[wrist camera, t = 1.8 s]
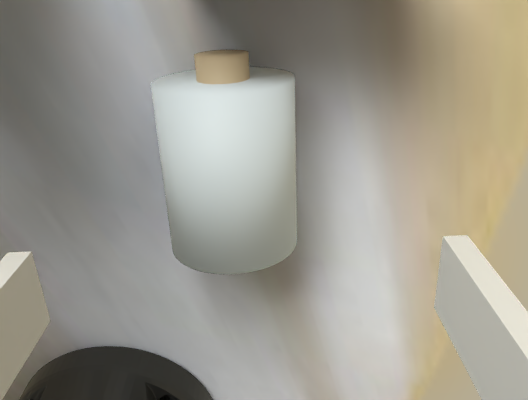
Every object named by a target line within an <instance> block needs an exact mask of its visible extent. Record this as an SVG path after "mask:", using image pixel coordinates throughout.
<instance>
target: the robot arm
mask: <svg viewBox="0 0 528 400" xmlns="http://www.w3.org/2000/svg"><path fill="white" fill-rule="evenodd" d="M434 308H435V310H436V312H437V314H438V316H439V318H440V320H441V322H442V324H443V326H444V328H445V330H446V331H447V333H448V335H449V337H450V339H451V341H452V343H453V345H454V347H455V349H456V351H457V353H458V355H459V357H460V358H461V361H462V362H463V364H464V366H465V368H466V370H467V372H468V374H469V376H470V378H471V380H472V382H473V384H474V386H475V387H476V390H477V392H478V394H479V395H480V397H481V399H482V400H528V312H527V311H526V309H525V308H524V307H523V306H522V304H521V303H520V302H519V300H518V299H517V298H516V297H515V295H514V294H513V293H512V292H511V290H510V289H509V288H508V286H507V285H506V284H505V283H504V281H503V280H502V279H501V278H500V276H499V275H498V274H497V272H496V271H495V270H494V269H493V267H492V266H491V265H490V263H489V262H488V261H487V260H486V258H485V257H484V256H483V255H482V253H481V252H480V251H479V249H478V248H477V247H476V246H475V244H474V243H473V242H472V241H471V239H470V238H469V237H468V236H467V235H461V236H443V240H442V248H441V256H440V264H439V272H438V281H437V289H436V297H435V305H434ZM49 323H50V317H49V313H48V310H47V306H46V302H45V299H44V295H43V291H42V288H41V284H40V280H39V277H38V273H37V269H36V266H35V262H34V258H33V255H32V252H8V253H7V254H6V255H5V256H4V257H3V258H2V259H1V261H0V400H2V399H3V398H4V396H5V394H6V393H7V391H8V389H9V388H10V386H11V385H12V383H13V381H14V380H15V378H16V376H17V375H18V373H19V372H20V370H21V368H22V367H23V365H24V363H25V362H26V360H27V359H28V357H29V355H30V354H31V352H32V350H33V349H34V347H35V346H36V344H37V342H38V341H39V339H40V337H41V336H42V334H43V333H44V331H45V329H46V328H47V326H48V324H49ZM19 400H212V398H211V396H210V395H209V393H208V392H207V390H206V389H205V388H204V387H203V385H202V384H201V383H200V382H199V381H198V380H197V379H196V378H195V377H194V376H193V375H191V374H190V373H189V372H188V371H186V370H185V369H183V368H182V367H180V366H179V365H177V364H175V363H174V362H172V361H170V360H168V359H165V358H163V357H161V356H158V355H155V354H153V353H149V352H146V351H142V350H138V349H132V348H126V347H113V346H104V347H92V348H86V349H81V350H77V351H73V352H70V353H67V354H65V355H62V356H60V357H58V358H56V359H54V360H52V361H51V362H49V363H48V364H46V365H45V366H44V367H42V368H41V369H40V370H39V371H38V372H37V373H36V374H35V375H34V376H33V378H32V379H31V380H30V382H29V384H28V385H27V387H26V389H25V390H24V392H23V394H22V396H21V397H20V399H19Z"/></svg>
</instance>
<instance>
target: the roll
mask: <svg viewBox="0 0 528 400" xmlns="http://www.w3.org/2000/svg"><path fill="white" fill-rule="evenodd" d="M194 59H195V70H189V71H183V72H178V73H173V74H169V75H166V76H162V77H160V78H157V79H155V80H154V81H152V82H151V93H152V100H153V108H154V115H155V123H156V130H157V137H158V145H159V152H160V160H161V167H162V175H163V182H164V190H165V197H166V205H167V212H168V220H169V227H170V234H171V242H172V249H173V253H174V255H175V257H176V258H177V259H178V260H179V261H180V262H181V263H183V264H184V265H186V266H188V267H190V268H192V269H195V270H198V271H201V272H206V273H212V274H243V273H250V272H254V271H259V270H262V269H265V268H268V267H271V266H273V265H275V264H277V263H279V262H281V261H282V260H284V259H285V258H287V257H288V256H289V255H290V254H291V253H292V252H293V251H294V249H295V247H296V244H297V191H296V119H295V75H294V74H293V73H291V72H289V71H285V70H281V69H275V68H267V67H249V52H248V51H244V50H213V51H205V52H200V53H196V54H194Z"/></svg>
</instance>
